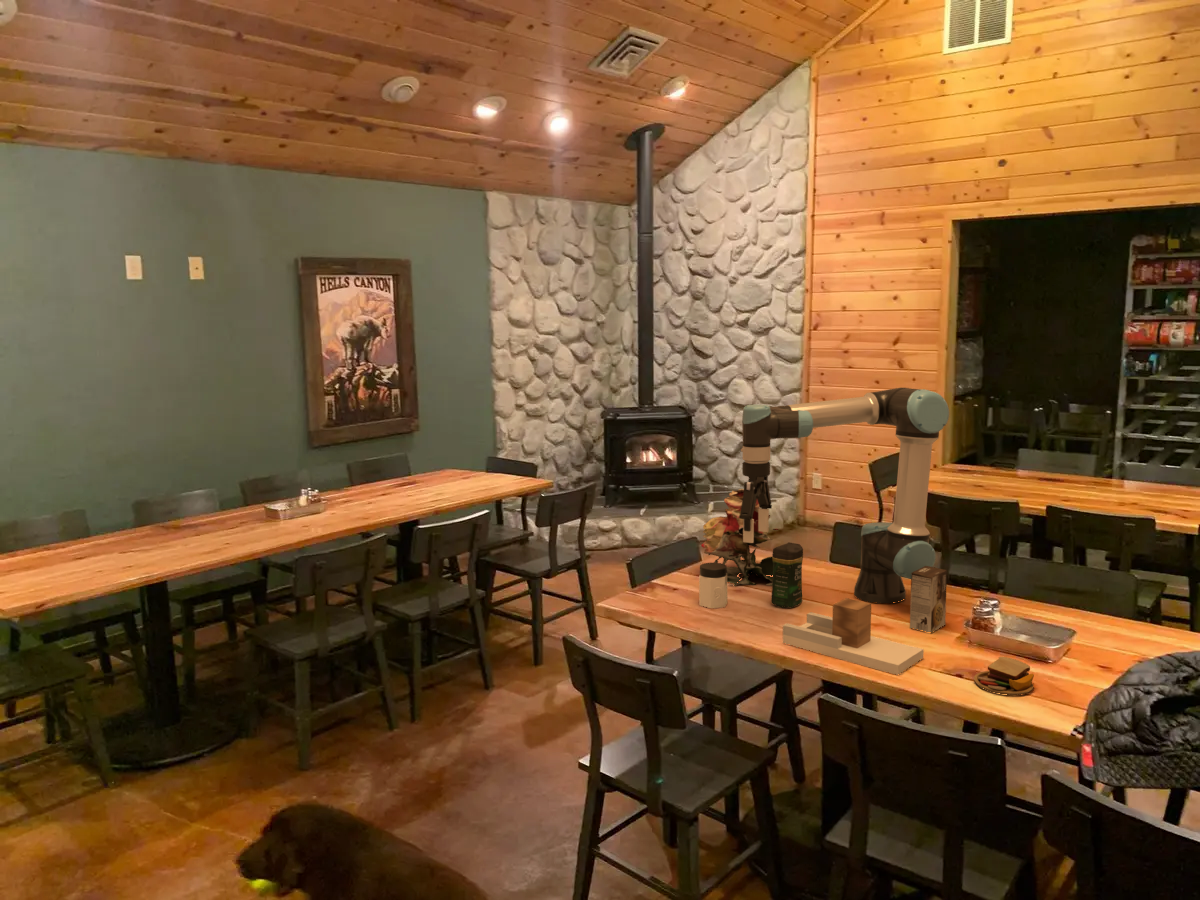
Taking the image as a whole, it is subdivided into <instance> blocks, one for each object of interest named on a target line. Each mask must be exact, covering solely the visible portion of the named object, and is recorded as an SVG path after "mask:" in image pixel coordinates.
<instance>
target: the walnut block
mask: <svg viewBox="0 0 1200 900" xmlns="http://www.w3.org/2000/svg"><path fill="white" fill-rule="evenodd" d="M832 617H833V622H832V635H835V636H839V637H842V645H846V646H850V647H853V648H859V647H861V646H862V645H864V644H866V643H868V642H869V641H870V638H871V636H872V635H871V631H872V628H871V627H872V602H867V601H863V600H859V599H857V600H856V599H853V598H847V597H845V598H844V599H841V600H840V601H837V602H834V603H833V604H832Z"/></svg>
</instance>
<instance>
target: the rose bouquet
mask: <svg viewBox="0 0 1200 900" xmlns="http://www.w3.org/2000/svg"><path fill="white" fill-rule="evenodd" d="M743 493H744V488H738V489H734V490H733V489H732V490H731V492H730V493H728V496H729V497H725V498H724V500H723V501H724V503H725V504H726V506H727V507H728V508H726V509H725V513H726V516H716V517H712V518H710V519H709V520H708V521H707V522H706V523H704V524H703V528H702V529H703V531H702V533H703V534H704V533H705V534H704V535H702V538H703V539H706V540H705V541H704V542H703V543H702V544H700V546H701V548H703V549H704V551H703V554H706V555H708V556H714V557H715V556H716V557H718V558H716V559H715V560H714V562H713V563H719V560H720V559H722V560H723V561H722V563H721V564H724V565H727V564H726V563H727V562H728V561H733V563H734V564H736V566H727V582H730V583H729V584H732V585H734V586H735V587H736V586H738V585H747V586H748V585H749V586H757V585H756V584H757V583H756V582H752V581H751V580H750V579H749V577H750V576H751V575H756V576H755V577H759V578H764V579H766V580H769V581H770V582H769V583H766V586H772V583H773V577H770V576H766V575H771V576H772V575H773V559H772V556H768V557H765V558H762V559H761V560H760V562H758V563H757V562H756V560H757V559H756V558H757V556H756V550H757V548H758V549H760V548H761V547H760V546H758V545H760V544H762V543H765V542H768V541H772V540H773V538H770V537H769V535H768V532H762V531H758V509H759V508H760V506H759V503H758V500H756V504H755V508H754V513H753V517H752V519H754V542H753V543H747V542H743V519H740V514H741V507H742V500H743ZM770 517H771V515H770V514H769V519H770ZM768 527H769V524H768ZM772 530H773V531H779V528H773V529H772ZM750 546H751V547H754V548H755V549H754V550H752V552H750V551H751V549H750ZM741 558H742V559H741ZM739 573H742V574H741V575H742V576H740V577H741V578H744V579H742V580H741V581H739V580H740V579H741V578H739V577H737V575H738V574H739ZM750 573H751V575H750ZM737 582H738V583H737Z"/></svg>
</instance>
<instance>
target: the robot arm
mask: <svg viewBox="0 0 1200 900" xmlns="http://www.w3.org/2000/svg"><path fill="white" fill-rule="evenodd" d="M741 416H742V419H741V425H742V427H741V428H742V448H740V452H741V453H742V460H743V462H742V465H741V466H742V468H741V469H742V471H741V472H742V475H743V476H744V477H748V481H744V483H743V489H744V493H743V500H742V507H741V514H740V519H743V542H747V543H753V542H754V519H752V517H753V513H754V508H755V504H756V500H758V503H759V506H760V508H759V509H758V531H762V532H767V533H768V532H769V526H768V525H769V520H770V518H769V515H770V514H769V509H771V510H772V507H773V505H772V498H771V493H770V487H769V476H770V474H771V462H770V460H771V440H775V439H800V438H807V437H809V436H811V434H812V433H813V429H816V428H824V427H833V426H834V427H835V426H840V425H841V426H842V425H843V426H844V425H850V424H853V425H854V424H861V423H867V424H868V425H871V426H873V425H886V426H888V425H889V426H893V427H894V426H895V436H896V437H897V439H898V440H899V442H900V444H899V453H898V456H899V457H898V466H897V467H898V468H897V478H896V479H897V480H896V489H895V490H896V492H895V499H894V501H895V502H894V513H893V522H886V521H885V522H884V521H882V522H871V523H870V522H869V523H865V524H863V526H862V527H861V532H860V538H861V539H860V571H859V574H858V576H857V579H856V582H855V585H854V589H853V591H854V592H853V596H854V595H855V596H856V597H857V599H858V598H859V599H858V600H860V599H861V600H860V601H863V600H864V601H863V602H867V601H868V602H867V603H872V602H877V603H876V604H880V603H892V604H894V603H893V602H898V601H901V600H903V599H905V597H907V594H906V593H907V591H906V588H905V584H904V581H903V578H906V579H909V580H911V573H912V572H914V571H916V570H918V569H920V568H922V567H924V566H930V567H934V565H935V563H936V559H937V558H936V551H935V549H934V548H933V546H932V544H930V534H931V533H930V531H929V529H928V528H927V527H926V516H927V505H928V496H929V495H928V494H929V484H930V483H929V482H930V473H931V462H932V461H931V460H932V451H933V444H934V443H935V442H936V441H938V440H939V438H940V431H942V430H943V429H944V427H945V426H946V425H947V424H948V421H949V418H950V409H949V405H948V402H947V401H946V400H945V398H944V397H943V396H942V395H941V394H940V393H938V392H936V391H932V390H929V389H924V388H923V389H922V388H911V387H895V388H890V389H885V390H878V391H871V392H866V393H865V394H864V396H859V397H850V398H849V397H848V398H841V399H838V398H837V399H831V400H824V401H823V400H821V401H814V402H804V403H796V404H795V403H794V404H793V403H792V404H787V405H776V406H773V405H768V404H748V405H745V406H744V407H743V409H742V415H741ZM855 596H854V597H855ZM856 597H855V598H856ZM905 600H906V599H905Z"/></svg>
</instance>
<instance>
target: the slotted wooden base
mask: <svg viewBox="0 0 1200 900" xmlns="http://www.w3.org/2000/svg"><path fill="white" fill-rule="evenodd" d="M832 622H833V616H830V615H825V614H820V613H815V612H808V613H806V622H805V623H803V624H801V625H795V624H791V623H784V624H783V625H782V644H783V643H786V644H785V645H787V644H790V645H789V646H791V645H793V646H792V647H794V646H796V647H795V648H798V647H800V648H799V649H801V648H803V649H802V650H805V649H806V650H805V651H809V650H810V651H809V652H812V651H813V653H817V654H819V653H821V654H820V655H824V656H827V657H831V658H834V659H838V660H841V661H844V662H845V661H846V662H849V663H853V664H856V665H859V666H864V667H867V668H870V669H874V670H878V671H881V672H886V673H888V672H889V673H888V674H892V675H895V674H896V676H899V675H901V674H902V673H904V672H905V671H907V670H908V669H910V668H911V667H913V666H914V665H916V664H917V663H919V662H920V661H921V660H920V659H922V658H923V659H924V654H925V653H924V651H925V650H924V648H922V647H918V646H913V645H909V644H905V643H902V642H897V641H892V640H889V639H886V638H881V637H876V636H874V635H871V638H870V641H869V642H868V643H866V644H864V645H862V646H861V647H859V648H853V647H850V646H846V645H842V637H839V636H835V635H832ZM923 659H922V660H923ZM919 660H920V661H919ZM918 661H919V662H918ZM916 662H917V663H916ZM915 663H916V664H915ZM913 664H914V665H913ZM912 665H913V666H912ZM910 666H911V667H910ZM909 667H910V668H909ZM907 668H908V669H907ZM906 669H907V670H906ZM904 670H905V671H904ZM903 671H904V672H903ZM901 672H902V673H901ZM900 673H901V674H900ZM898 674H899V675H898Z"/></svg>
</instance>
